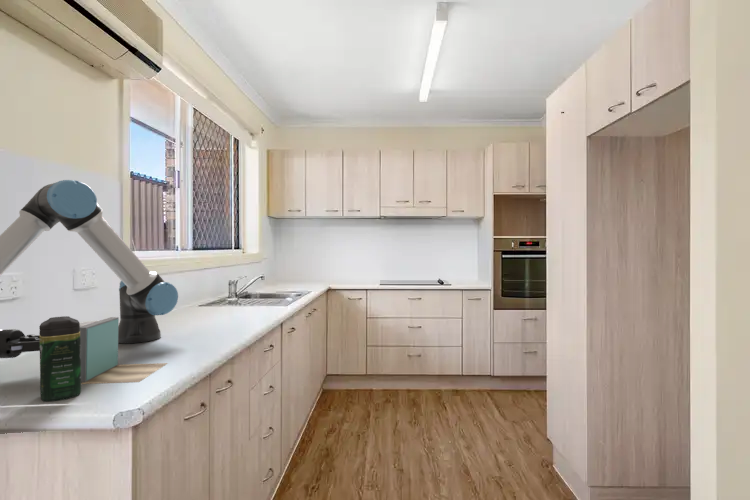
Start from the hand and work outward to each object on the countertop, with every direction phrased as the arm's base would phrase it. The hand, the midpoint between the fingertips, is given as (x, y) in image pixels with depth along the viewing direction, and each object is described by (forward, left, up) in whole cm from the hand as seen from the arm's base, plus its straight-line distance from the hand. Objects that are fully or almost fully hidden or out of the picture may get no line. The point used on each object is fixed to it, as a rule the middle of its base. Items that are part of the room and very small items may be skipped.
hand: (91, 341), depth 120 cm
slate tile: (-1, +1, -9) cm, 9 cm away
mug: (-15, -23, -10) cm, 29 cm away
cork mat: (-4, +6, -9) cm, 12 cm away
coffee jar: (+14, +9, -10) cm, 19 cm away
